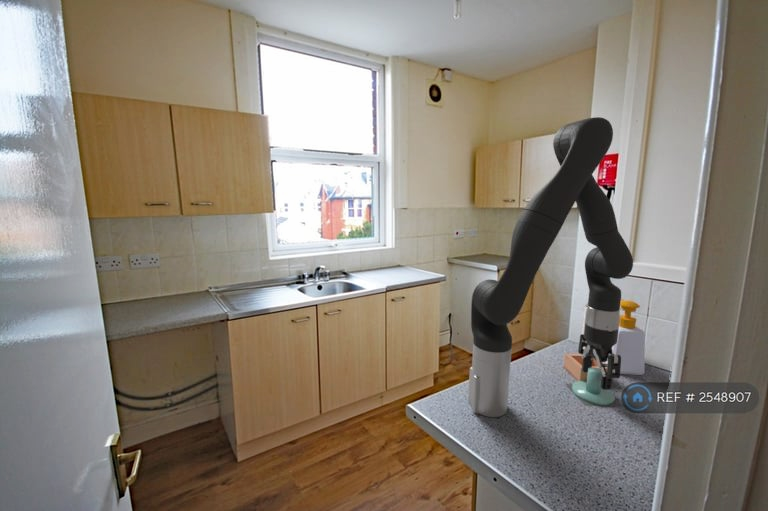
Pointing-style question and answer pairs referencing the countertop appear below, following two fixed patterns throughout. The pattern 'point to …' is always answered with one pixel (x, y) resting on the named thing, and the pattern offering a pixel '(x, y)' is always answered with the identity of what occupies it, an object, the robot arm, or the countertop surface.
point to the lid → (593, 389)
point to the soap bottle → (630, 342)
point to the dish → (578, 366)
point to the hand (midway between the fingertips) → (595, 379)
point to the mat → (616, 403)
